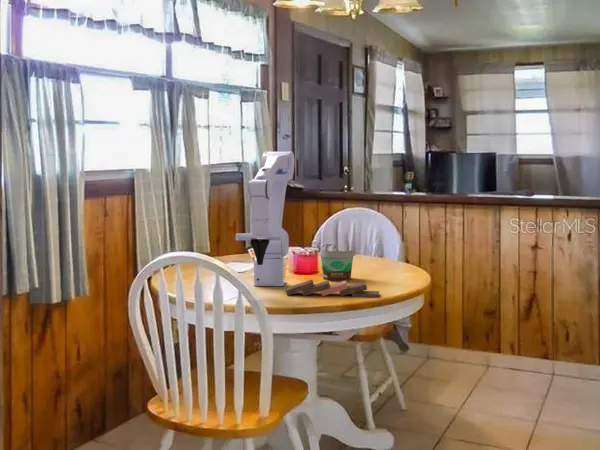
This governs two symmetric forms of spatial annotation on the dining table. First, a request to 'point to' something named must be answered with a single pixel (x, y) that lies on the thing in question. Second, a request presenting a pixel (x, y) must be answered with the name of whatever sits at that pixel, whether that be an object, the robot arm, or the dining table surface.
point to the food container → (337, 264)
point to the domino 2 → (317, 288)
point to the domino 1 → (299, 287)
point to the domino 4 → (354, 288)
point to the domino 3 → (335, 288)
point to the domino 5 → (366, 294)
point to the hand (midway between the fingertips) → (260, 264)
